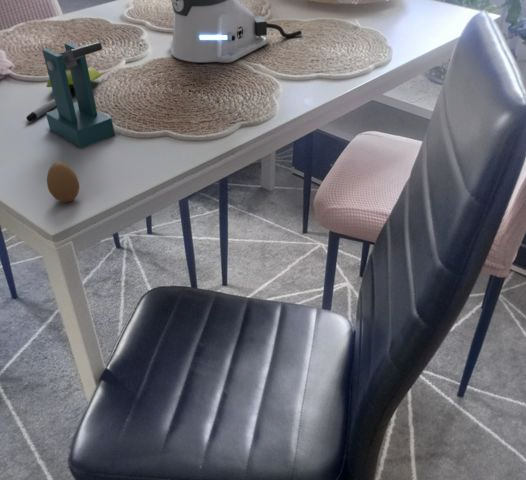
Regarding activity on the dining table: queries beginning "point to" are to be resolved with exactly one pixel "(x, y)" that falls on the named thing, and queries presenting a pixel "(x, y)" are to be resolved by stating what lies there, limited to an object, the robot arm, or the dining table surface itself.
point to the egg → (62, 182)
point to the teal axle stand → (75, 114)
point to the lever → (78, 54)
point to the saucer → (92, 74)
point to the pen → (45, 108)
